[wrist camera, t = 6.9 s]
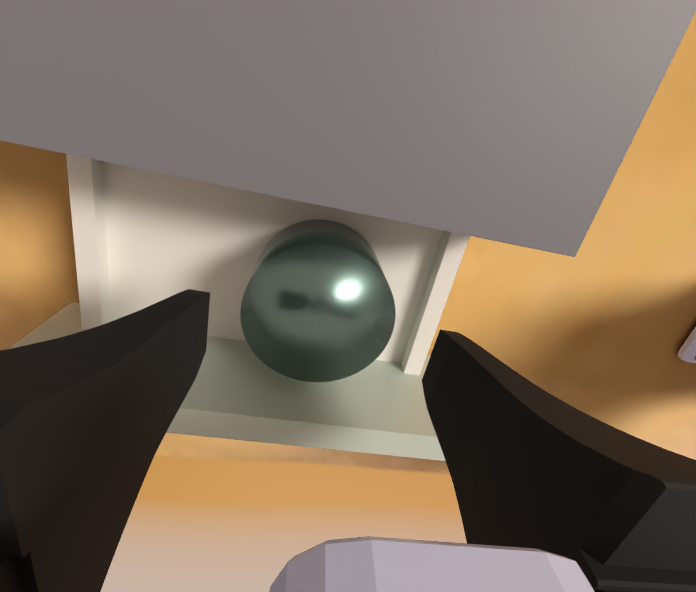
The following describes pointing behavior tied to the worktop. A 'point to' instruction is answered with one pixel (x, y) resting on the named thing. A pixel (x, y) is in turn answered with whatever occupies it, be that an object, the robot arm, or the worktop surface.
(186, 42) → the block
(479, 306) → the worktop surface
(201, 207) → the drawer tray
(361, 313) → the tin
